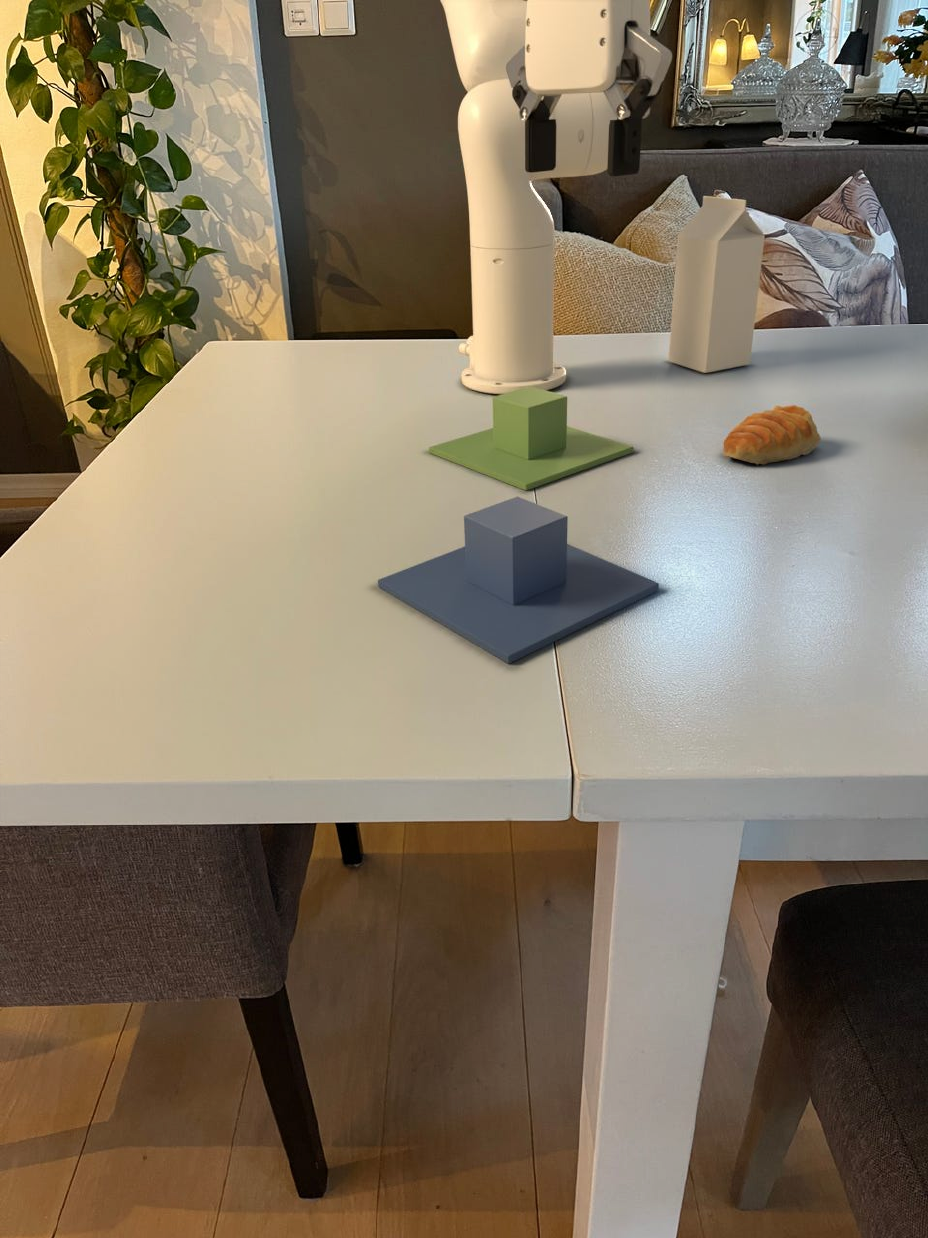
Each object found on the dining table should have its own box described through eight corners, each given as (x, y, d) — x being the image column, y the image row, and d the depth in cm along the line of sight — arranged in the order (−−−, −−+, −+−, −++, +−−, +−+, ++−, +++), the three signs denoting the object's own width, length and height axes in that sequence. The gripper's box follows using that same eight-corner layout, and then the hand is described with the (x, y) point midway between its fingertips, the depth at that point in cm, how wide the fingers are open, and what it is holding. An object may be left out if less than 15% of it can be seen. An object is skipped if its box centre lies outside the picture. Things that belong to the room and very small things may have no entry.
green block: (493, 447, 89) (492, 396, 87) (531, 435, 92) (531, 385, 89) (528, 460, 86) (528, 407, 83) (566, 447, 88) (567, 396, 86)
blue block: (465, 581, 65) (463, 515, 62) (518, 559, 68) (517, 495, 65) (513, 605, 61) (512, 537, 59) (566, 582, 64) (568, 515, 62)
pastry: (763, 474, 82) (768, 433, 80) (702, 456, 87) (706, 417, 85) (823, 449, 87) (829, 410, 85) (763, 434, 92) (767, 396, 90)
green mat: (428, 452, 90) (428, 446, 90) (533, 420, 98) (533, 415, 98) (526, 490, 81) (526, 484, 80) (633, 452, 88) (633, 446, 88)
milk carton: (705, 374, 111) (721, 202, 102) (667, 362, 117) (679, 198, 107) (750, 365, 114) (770, 197, 104) (711, 354, 119) (727, 193, 110)
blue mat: (378, 587, 66) (377, 579, 66) (522, 530, 73) (522, 524, 73) (508, 664, 56) (508, 656, 56) (658, 590, 64) (659, 583, 64)
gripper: (710, -93, 66) (690, 172, 74) (542, -59, 78) (541, 166, 86) (640, -102, 62) (627, 180, 70) (474, -65, 73) (480, 173, 82)
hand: (580, 172), depth 78 cm, fingers open, 9 cm apart
